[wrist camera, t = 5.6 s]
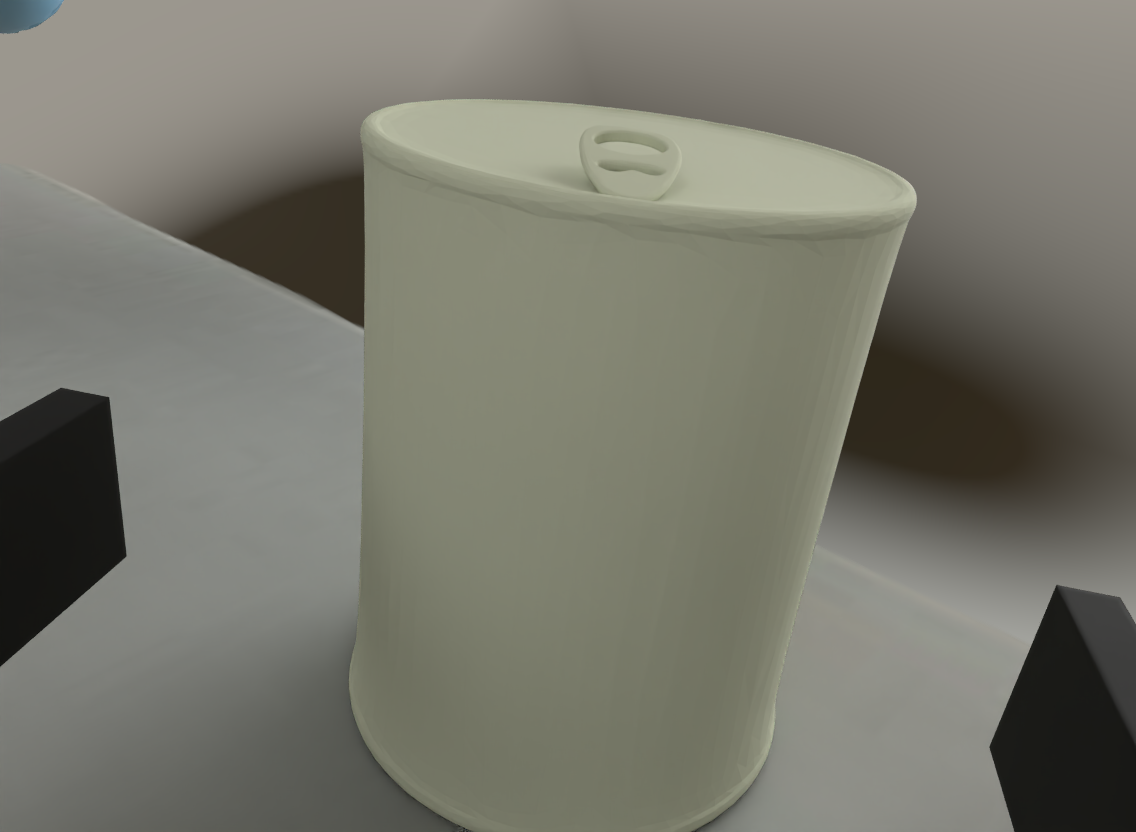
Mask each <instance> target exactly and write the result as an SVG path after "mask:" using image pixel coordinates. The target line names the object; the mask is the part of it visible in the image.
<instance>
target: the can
mask: <svg viewBox="0 0 1136 832" xmlns="http://www.w3.org/2000/svg"><path fill="white" fill-rule="evenodd" d="M360 135H361V142H362V145H363V157H364V192H365V193H364V195H365V326H364V415H363V465H362V515H361V554H360V581H359V607H358V621H357V635H356V644H355V646H354V650H353V654H352V658H351V663H350V669H349V693H350V700H351V706H352V711H353V715H354V717H355V720H356V723H357V726H358V729H359V731H360V733H361V735H362V737H363V739H364V741H365V743H366V745H367V747H368V748H369V750H370V751H371V753H372V755H373V756H374V758H375V759H376V761H377V762H378V763H379V764H380V765H381V767H382V768H383V769H384V770H385V771H386V772H387V774H388V775H389V776H390V777H391V778H392V779H393V780H394V781H395V782H396V783H397V784H398V785H399V786H400V787H401V788H403V789H404V790H405V791H406V792H407V793H408V794H409V795H411V796H412V797H413V798H415V799H416V800H417V801H419V802H420V803H422V804H423V805H425V806H426V807H427V808H429V809H430V810H432V811H433V812H435V813H437V814H438V815H440V816H442V817H444V818H446V819H448V820H449V821H451V822H453V823H455V824H457V825H460V826H462V827H464V828H466V829H468V830H470V831H472V832H691V831H694V830H696V829H698V828H699V827H701V826H703V825H705V824H707V823H708V822H710V821H712V820H714V819H715V818H716V817H718V816H719V815H720V814H721V813H723V812H724V811H725V810H727V809H728V808H729V807H731V806H732V805H733V804H734V803H735V802H736V801H737V800H738V799H739V798H740V797H741V796H742V795H743V794H744V793H745V792H746V790H747V789H748V788H749V787H750V786H751V784H752V783H753V781H754V780H755V778H756V777H757V776H758V774H759V772H760V770H761V768H762V767H763V765H764V763H765V760H766V758H767V756H768V753H769V750H770V747H771V743H772V738H773V733H774V726H775V700H776V695H777V691H778V687H779V683H780V678H781V674H782V670H783V666H784V661H785V657H786V653H787V649H788V645H789V641H790V638H791V634H792V630H793V626H794V623H795V619H796V615H797V611H798V607H799V604H800V600H801V596H802V592H803V588H804V585H805V581H806V577H807V573H808V570H809V566H810V562H811V558H812V554H813V551H814V547H815V543H816V539H817V535H818V531H819V528H820V525H821V521H822V517H823V514H824V510H825V507H826V503H827V499H828V495H829V492H830V488H831V485H832V481H833V477H834V474H835V470H836V466H837V463H838V459H839V455H840V452H841V448H842V444H843V441H844V437H845V434H846V430H847V427H848V423H849V419H850V416H851V412H852V408H853V405H854V401H855V397H856V394H857V390H858V387H859V383H860V380H861V376H862V372H863V369H864V366H865V362H866V359H867V355H868V351H869V348H870V345H871V341H872V338H873V334H874V330H875V327H876V324H877V320H878V317H879V313H880V309H881V306H882V303H883V299H884V296H885V292H886V289H887V285H888V282H889V279H890V276H891V273H892V269H893V266H894V263H895V260H896V256H897V253H898V250H899V247H900V244H901V241H902V238H903V235H904V232H905V230H906V227H907V224H908V221H909V219H910V217H911V216H912V214H913V212H914V209H915V207H916V200H917V197H916V193H915V190H914V188H913V187H912V186H911V185H910V184H909V183H908V182H907V181H906V180H905V179H903V178H902V177H900V176H899V175H897V174H895V173H894V172H892V171H890V170H888V169H885V168H883V167H881V166H879V165H877V164H875V163H872V162H869V161H867V160H864V159H862V158H859V157H856V156H854V155H850V154H847V153H843V152H840V151H837V150H834V149H830V148H827V147H823V146H820V145H816V144H813V143H809V142H805V141H801V140H797V139H792V138H788V137H784V136H780V135H775V134H771V133H766V132H762V131H757V130H752V129H748V128H742V127H737V126H731V125H725V124H720V123H715V122H709V121H703V120H698V119H691V118H684V117H678V116H671V115H665V114H657V113H650V112H642V111H635V110H626V109H617V108H608V107H598V106H589V105H580V104H568V103H555V102H541V101H540V102H539V101H524V100H491V99H490V100H489V99H460V100H436V101H424V102H414V103H405V104H400V105H395V106H390V107H386V108H383V109H380V110H378V111H376V112H373V113H372V114H370V115H369V116H368V117H366V118H365V119H364V121H363V123H362V126H361V130H360Z"/></svg>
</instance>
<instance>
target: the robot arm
mask: <svg viewBox="0 0 1136 832" xmlns="http://www.w3.org/2000/svg"><path fill="white" fill-rule="evenodd" d="M63 1H64V0H0V33H7V34H8V33H18V32H19V31H22V30H28V29H31V28H33V27H36V26H38V25H39V24H41V23H42V22H44V21H45V20H47V19H48V18H49V17H51V16H52V15H53V14H55V13H56V12H57V10H58V9H59V7H60V6H61V4H62V2H63ZM125 557H126V547H125V538H124V528H123V519H122V510H121V501H120V492H119V483H118V474H117V465H116V455H115V446H114V437H113V428H112V419H111V410H110V401H109V397H105V396H100V395H95V394H90V393H85V392H80V391H74V390H69V389H64V388H60V389H58V390H56V391H54V392H53V393H51V394H49V395H47V396H45V397H44V398H42V399H40V400H38V401H36V402H35V403H33V404H31V405H29V406H27V407H26V408H24V409H22V410H20V411H18V412H17V413H15V414H13V415H11V416H9V417H7V418H6V419H4V420H2V421H0V666H2V665H3V664H4V663H5V662H6V661H7V660H8V659H10V658H11V657H12V656H13V655H14V654H15V653H16V652H18V651H19V650H20V649H21V648H22V647H23V646H24V645H26V644H27V643H28V642H29V641H30V640H31V639H32V638H34V637H35V636H36V635H37V634H38V633H39V632H40V631H42V630H43V629H44V628H45V627H46V626H47V625H48V624H50V623H51V622H52V621H53V620H54V619H55V618H56V617H58V616H59V615H60V614H61V613H62V612H63V611H64V610H66V609H67V608H68V607H69V606H70V605H71V604H73V603H74V602H75V601H76V600H77V599H78V598H79V597H81V596H82V595H83V594H84V593H85V592H86V591H87V590H89V589H90V588H91V587H92V586H93V585H94V584H95V583H97V582H98V581H99V580H100V579H101V578H102V577H103V576H105V575H106V574H107V573H108V572H109V571H110V570H111V569H113V568H114V567H115V566H116V565H117V564H118V563H119V562H121V561H122V560H123V559H124V558H125ZM990 751H991V754H992V757H993V761H994V764H995V767H996V771H997V774H998V778H999V781H1000V784H1001V788H1002V791H1003V794H1004V798H1005V801H1006V804H1007V808H1008V811H1009V815H1010V818H1011V821H1012V825H1013V828H1014V831H1015V832H1136V624H1135V622H1134V620H1133V619H1132V617H1131V615H1130V613H1129V612H1128V610H1127V609H1126V607H1125V605H1124V603H1123V602H1122V600H1121V598H1120V597H1115V596H1110V595H1105V594H1099V593H1094V592H1090V591H1084V590H1080V589H1074V588H1069V587H1064V586H1059V585H1056V588H1055V591H1054V592H1053V595H1052V597H1051V600H1050V602H1049V604H1048V607H1047V609H1046V612H1045V614H1044V616H1043V619H1042V621H1041V624H1040V626H1039V629H1038V631H1037V633H1036V636H1035V639H1034V641H1033V643H1032V645H1031V648H1030V650H1029V653H1028V655H1027V657H1026V660H1025V662H1024V665H1023V667H1022V670H1021V672H1020V674H1019V677H1018V679H1017V682H1016V684H1015V686H1014V689H1013V691H1012V694H1011V696H1010V698H1009V701H1008V703H1007V706H1006V708H1005V711H1004V713H1003V715H1002V718H1001V720H1000V723H999V725H998V727H997V730H996V732H995V735H994V737H993V739H992V742H991V744H990Z"/></svg>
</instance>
